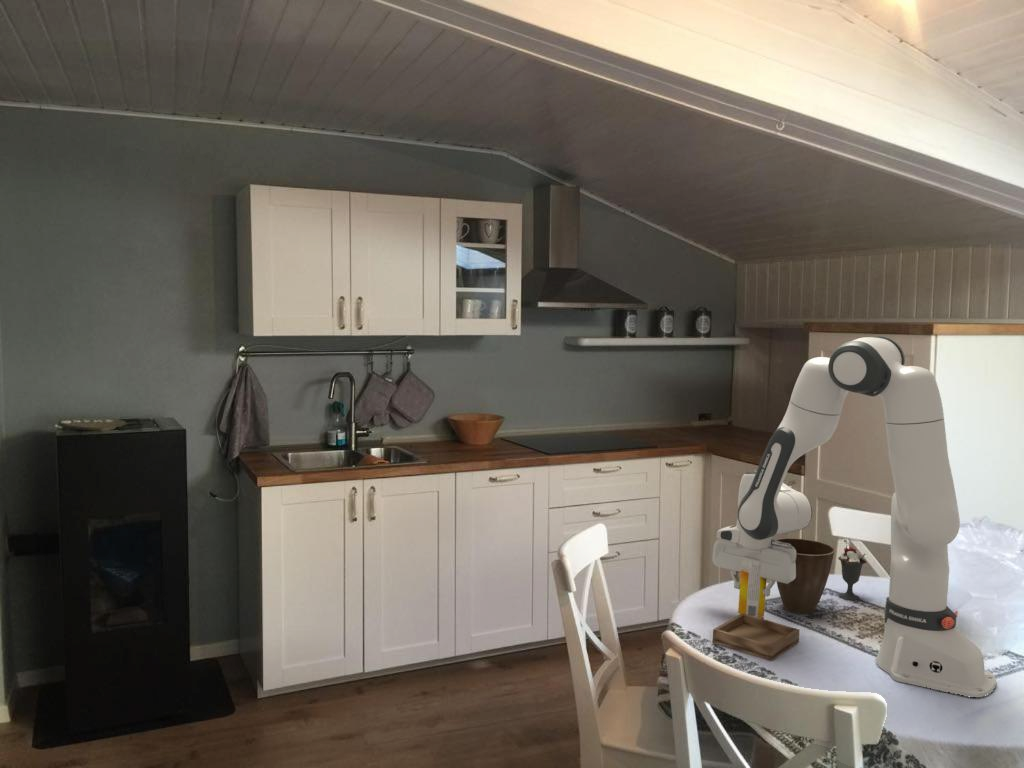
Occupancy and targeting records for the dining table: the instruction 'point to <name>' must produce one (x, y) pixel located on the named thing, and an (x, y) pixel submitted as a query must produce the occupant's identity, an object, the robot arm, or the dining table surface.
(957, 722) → the dining table surface
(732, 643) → the walnut tray
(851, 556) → the sundae
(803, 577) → the plant pot
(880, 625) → the dining table surface
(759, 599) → the beer can
